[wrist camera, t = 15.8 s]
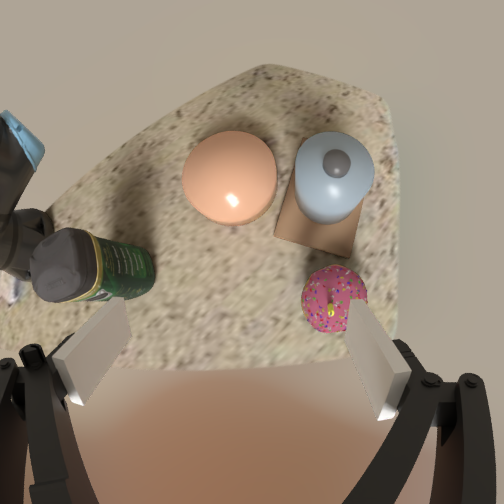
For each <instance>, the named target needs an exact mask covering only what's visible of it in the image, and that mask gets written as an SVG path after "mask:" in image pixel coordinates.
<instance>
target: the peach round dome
mask: <svg viewBox="0 0 504 504" xmlns="http://www.w3.org/2000/svg"><path fill="white" fill-rule="evenodd" d="M182 185H183V190H184V192H185V195H186V197H187V199H188V200H189V202H190V203H191V204H192V205H193V206H194V207H195V208H196V209H197V210H198V211H199V212H201V213H202V214H203V215H204V216H205V217H206V218H208V219H209V220H211V221H213V222H215V223H217V224H220V225H224V226H240V225H245V224H248V223H250V222H253V221H255V220H256V219H258V218H259V217H261V216H262V215H263V214H264V213H265V212H266V211H267V210H268V209H269V207H270V206H271V204H272V203H273V201H274V199H275V196H276V192H277V186H278V182H277V171H276V164H275V159H274V157H273V154H272V152H271V150H270V149H269V148H268V146H267V145H266V144H265V143H264V142H263V141H262V140H260V139H259V138H258V137H256V136H254V135H252V134H249V133H246V132H242V131H225V132H220V133H217V134H214V135H212V136H210V137H208V138H206V139H204V140H203V141H202V142H200V143H199V144H198V145H197V146H196V147H195V148H194V149H193V150H192V152H191V153H190V154H189V156H188V158H187V160H186V162H185V164H184V168H183V172H182Z"/></svg>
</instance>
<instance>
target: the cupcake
mask: <svg viewBox="0 0 504 504" xmlns="http://www.w3.org/2000/svg"><path fill="white" fill-rule="evenodd" d="M352 299H363V300H364V301H365V303H366V304H367V303H368V302H367V290H366V288H365V284H364V282H363V280H362V279H361V277H360V276H359V275H358V274H356V273H355V272H353V271H352V270H350V269H348V268H346V267H344V266H342V265H337V264H334V265H330V266H327V267H324V268H322V269H320V270H318V271H316V272H314V273H313V274H311V276H310V277H309V279H308V281H307V283H306V284H305V287H304V289H303V292H302V297H301V305H302V310H303V313H304V315H305V317H306V319H307V321H308V322H309V323H310V324H311V325H312V326H313V327H314V328H315V330H318V331H320V332H323V333H330V332H340V331H345V330H346V327H347V320H348V313H349V306H350V300H352Z"/></svg>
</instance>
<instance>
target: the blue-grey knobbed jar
mask: <svg viewBox="0 0 504 504" xmlns="http://www.w3.org/2000/svg"><path fill="white" fill-rule="evenodd" d="M373 179H374V164H373V161H372V158H371V156H370V154H369V152H368V151H367V149H366V148H365V147H364V146H363V145H362V144H361V143H360V142H359V141H358V140H356V139H355V138H353V137H351V136H349V135H347V134H344V133H340V132H333V131H332V132H322V133H318V134H316V135H313V136H312V137H310V138H309V139H307V140H306V141H305V142H304V143H303V144H302V146H301V147H300V149H299V151H298V153H297V156H296V163H295V199H296V203H297V205H298V207H299V209H300V211H301V212H302V213H303V214H304V215H305V216H306V217H307V218H309V219H310V220H312V221H314V222H316V223H319V224H326V225H330V224H336V223H339V222H341V221H343V220H344V219H346V218H347V217H348V216H349V215H350V214H351V213H352V211H353V210H354V209H355V207H356V206H357V205H358V204H359V202H360V201H361V200H362V198H363V197H364V196H365V195H366V193H367V192H368V191H369V189H370V187H371V185H372V183H373Z"/></svg>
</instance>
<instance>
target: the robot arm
mask: <svg viewBox="0 0 504 504" xmlns="http://www.w3.org/2000/svg"><path fill="white" fill-rule="evenodd" d="M44 153H45V149H44V145H43V144H42V142H41V141H40V140H39V139H38V138H37V137H35V136H34V135H33V134H32V133H31V132H30V131H29V130H28V129H27V128H26V127H25V126H24V125H23V124H22V123H21V122H20V121H19V120H18V119H17V118H16V117H14V116H13V115H12V114H11V113H10V112H9V111H8V110H4V111H3V112H2V113H1V114H0V270H3V271H5V272H7V273H8V274H10V275H12V276H14V277H15V278H17V279H19V280H21V281H27V282H32V280H31V272H30V257H31V256H32V254H33V252H34V250H35V248H36V247H37V246H38V244H39V243H40V242H41V241H42V240H44V239H45V238H47V237H48V236H50V235H51V234H53V233H54V232H53V226H52V223H51V220H50V218H49V216H48V215H47V214H46V213H45V212H43V211H40V210H38V209H34V208H30V209H21V210H14V209H15V207H16V205H17V203H18V201H19V199H20V197H21V195H22V193H23V192H24V190H25V188H26V186H27V184H28V183H29V181H30V179H31V177H32V176H33V174H34V172H36V170H37V166H38V165H39V163H40V161H41V159H42V157H43V156H44ZM131 337H132V335H131V330H130V326H129V321H128V317H127V312H126V307H125V302H124V297H112V298H111V299H110V300H109V301H108V302H107V303H106V304H105V305H104V306H103V307H101V308H100V309H99V310H98V311H97V312H96V313H95V314H94V315H93V316H92V317H91V318H90V319H89V320H88V321H87V322H86V323H85V324H84V325H83V326H82V327H81V328H80V329H79V330H78V331H77V332H76V333H73V334H71V335H69V336H67V337H66V338H65V339H64V340H63V341H62V343H60V344H59V345H58V347H56V348H55V349H54V350H53V351H52V352H51V353H50V354H49V355H48V356H47V357H45V355H44V352H43V350H42V347H41V346H40V345H39V344H29V345H26V346H25V347H23V348H22V349H21V350H20V351H19V356H20V358H21V360H22V362H23V365H24V367H17V364H16V362H15V360H14V359H13V358H4V359H1V360H0V504H23V497H24V476H25V464H26V455H27V447H28V444H29V452H30V459H31V465H32V470H33V476H34V481H35V484H34V485H30V487H29V492H30V497H31V501H32V504H99V502H98V500H97V498H96V495H95V493H94V491H93V488H92V486H91V483H90V480H89V478H88V475H87V473H86V470H85V467H84V464H83V461H82V458H81V455H80V452H79V449H78V446H77V442H76V439H75V435H74V431H73V428H72V424H71V420H70V416H69V412H68V407H67V403H66V401H65V399H64V397H65V396H66V395H67V393H68V395H69V397H70V399H71V401H72V402H73V403H76V404H80V405H83V406H84V405H85V403H86V402H87V400H88V399H89V397H90V396H91V394H92V393H93V391H94V390H95V388H96V387H97V385H98V384H99V383H100V381H101V380H102V378H103V377H104V375H105V374H106V372H107V371H108V370H109V368H110V367H111V365H112V364H113V362H114V361H115V360H116V358H117V357H118V355H119V354H120V353H121V351H122V350H123V348H124V347H125V346H126V344H127V343H128V341H129V340H130V339H131ZM344 341H345V343H346V346H347V348H348V350H349V353H350V355H351V357H352V360H353V362H354V364H355V367H356V369H357V371H358V374H359V376H360V379H361V381H362V384H363V386H364V388H365V391H366V393H367V396H368V398H369V401H370V403H371V405H372V408H373V411H374V413H375V416H376V418H377V420H378V421H379V420H385V419H390V418H393V417H394V415H395V412H396V410H398V412H399V415H398V417H397V419H396V420H395V422H394V424H393V426H392V428H391V430H390V432H389V433H388V435H387V437H386V439H385V440H384V442H383V444H382V446H381V447H380V449H379V451H378V452H377V454H376V456H375V457H374V459H373V460H372V462H371V463H370V465H369V466H368V468H367V469H366V471H365V472H364V474H363V475H362V477H361V478H360V480H359V481H358V483H357V484H356V486H355V487H354V488H353V490H352V491H351V492H350V494H349V495H348V496H347V498H346V499H345V500H344V502H343V503H342V504H394V503H395V501H396V499H397V498H398V496H399V494H400V492H401V490H402V488H403V487H404V484H405V483H406V481H407V479H408V477H409V475H410V472H411V471H412V468H413V466H414V464H415V462H416V460H417V458H418V455H419V453H420V451H421V448H422V446H423V444H424V441H425V438H426V436H427V433H428V431H429V428H430V427H431V426H432V427H434V426H436V427H437V428H438V429H437V446H436V459H435V469H434V477H433V485H432V491H431V498H430V503H429V504H496V463H495V449H494V440H493V431H492V423H491V417H490V411H489V405H488V400H487V395H486V390H485V385H484V382H483V380H482V379H481V378H480V377H479V376H478V375H476V374H472V373H465V374H463V375H461V376H460V378H459V380H458V382H457V383H456V382H443V380H442V379H441V378H440V377H439V376H438V375H436V374H434V373H430V372H426V370H425V369H424V367H423V366H422V365H421V363H420V362H419V360H418V359H417V357H415V355H414V353H413V352H411V349H410V348H409V346H408V345H407V344H406V343H404V342H403V341H401V340H400V339H397V340H391V338H390V337H389V335H388V334H387V333H386V331H385V330H384V328H383V327H382V325H381V324H380V322H379V321H378V320H377V318H376V317H375V315H374V314H373V312H372V311H371V310H370V308H369V307H368V305H367V304H366V303H365V301H364V300H363V299H352V300H350V306H349V313H348V320H347V327H346V333H345V340H344ZM11 399H12V402H11Z"/></svg>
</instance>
